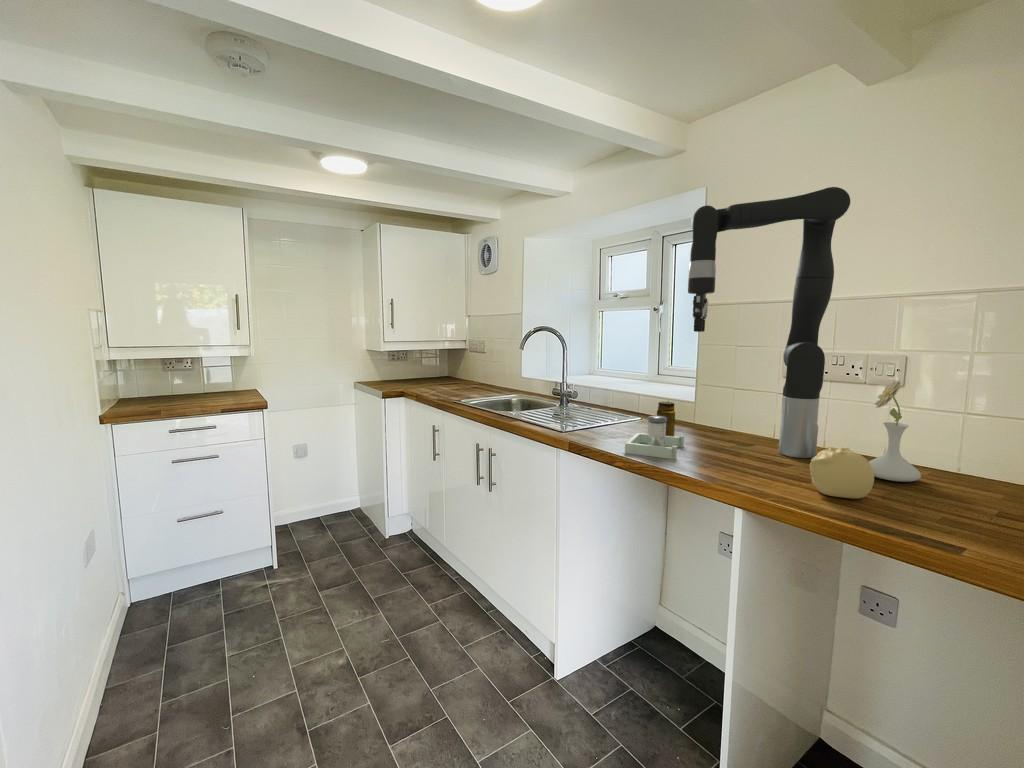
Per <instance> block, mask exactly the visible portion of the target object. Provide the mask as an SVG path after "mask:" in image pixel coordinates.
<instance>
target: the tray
mask: <svg viewBox="0 0 1024 768" xmlns="http://www.w3.org/2000/svg"><path fill="white" fill-rule="evenodd" d="M647 438H648V433H641V432H640V433H639V432H637V433H635V434H634V435H632V437H631V438H629V439H628V440H627V441H626V442H625V443H624V454H629V455H630V454H631V455H638V456H647V457H653V458H662V459H672V460H677V453H678V448H682V449H683V448H684V447H685V444H684V442H685V441H684V440H685V435H679V436H678V437H673V436H665V447H663V446H654V445H647Z"/></svg>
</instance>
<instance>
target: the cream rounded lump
mask: <svg viewBox="0 0 1024 768" xmlns="http://www.w3.org/2000/svg"><path fill="white" fill-rule="evenodd" d="M809 472H810V477H811V483H812V485H813V486H814V487H815V488H816V489H817V490H818V491H819V492H820V493H821V494H822V495H826V496H830V497H836V498H845V499H846V498H847V499H863V498H865V497H866V496H868V495H869V493H870V492H871V490H872V488H873V486H874V482H875V476H874V472H873V468H872V466H871V464H870V463H869V460H867V458H865V456H863V455H861V454H860V453H857V452H855V451H852V450H851V449H850V448H849V447H834V446H827V447H826V448H825V449H823V450H821V451H819V452H817V453H816V456H815V457H814V458H810V463H809Z"/></svg>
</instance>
